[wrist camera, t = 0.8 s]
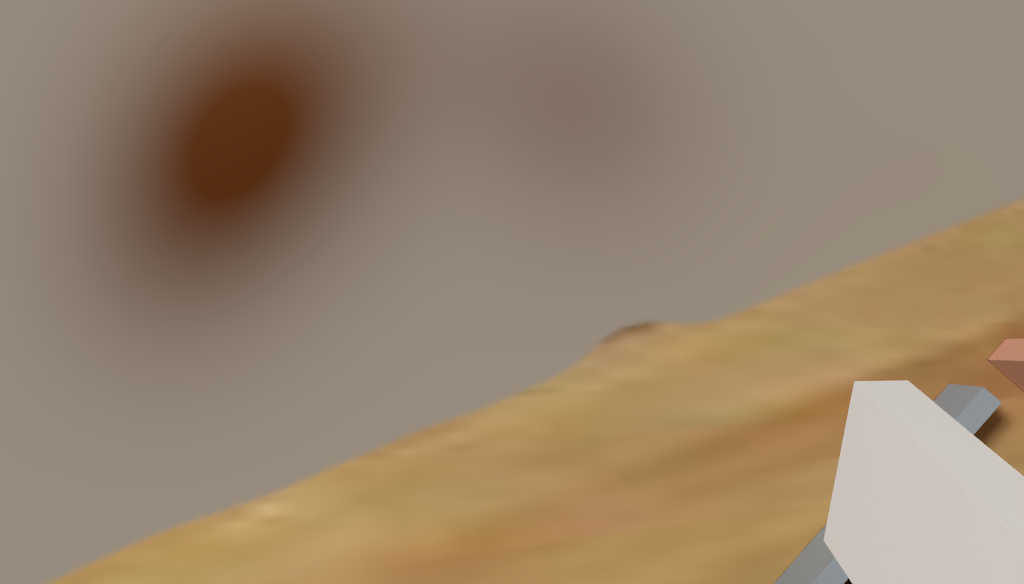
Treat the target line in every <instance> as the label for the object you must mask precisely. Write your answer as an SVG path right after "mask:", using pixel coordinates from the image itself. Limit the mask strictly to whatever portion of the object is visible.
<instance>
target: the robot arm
mask: <svg viewBox="0 0 1024 584" xmlns="http://www.w3.org/2000/svg"><path fill="white" fill-rule="evenodd" d="M824 542H825V543H826V545H827V546H828V548H829V549H830V551H831V552H832V554H833V555H834V557H835V558H836V560H837V561H838V563H839V564H840V566H841V567H842V569H843V570H844V572H845V573H846V575H847V576H848V578H849V579H850V581H851V582H852V584H1024V477H1023V476H1022V475H1021V474H1020V473H1019V472H1017V471H1016V470H1015V469H1014V468H1013V467H1011V466H1010V465H1009V464H1008V463H1007V462H1005V461H1004V460H1003V459H1002V458H1001V457H999V456H998V455H997V454H996V453H995V452H993V451H992V450H991V449H990V448H988V447H987V446H986V445H985V444H984V443H982V442H981V441H980V440H979V439H978V438H976V437H975V436H974V435H973V434H972V433H970V432H969V431H968V430H967V429H966V428H964V427H963V426H962V425H961V424H960V423H958V422H957V421H956V420H955V419H954V418H952V417H951V416H950V415H949V414H948V413H946V412H945V411H944V410H943V409H941V408H940V407H939V406H938V405H937V404H935V403H934V402H933V401H932V400H931V399H929V398H928V397H927V396H926V395H925V394H923V393H922V392H921V391H920V390H919V389H917V388H916V387H915V386H914V385H913V384H911V383H910V382H909V381H908V380H905V381H854V386H853V391H852V396H851V401H850V406H849V411H848V417H847V422H846V427H845V432H844V437H843V442H842V448H841V453H840V458H839V463H838V468H837V473H836V479H835V484H834V489H833V494H832V499H831V504H830V509H829V515H828V520H827V525H826V530H825V535H824Z"/></svg>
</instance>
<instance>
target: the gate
mask: <svg viewBox="0 0 1024 584" xmlns="http://www.w3.org/2000/svg"><path fill="white" fill-rule="evenodd" d="M988 361H990V362H991V363H992V364H993V365H994V366H995V367H996V368H998V369H999V370H1000V371H1001V372H1002V373H1003V374H1004V375H1006V376H1007V377H1008V378H1009V379H1010V380H1011V381H1013V382H1014V383H1015V384H1016V385H1017V386H1018V387H1019V388H1021V389H1022V390H1023V391H1024V339H1005V340H1004V342H1003V343H1002V344H1001V345H1000V346H999V347H998V348H997V350H996V351H995V352H994V353H993V354H992V355H991V356H990V357H989V359H988Z"/></svg>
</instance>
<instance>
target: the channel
mask: <svg viewBox="0 0 1024 584" xmlns="http://www.w3.org/2000/svg"><path fill="white" fill-rule="evenodd" d="M934 403H935V404H937V405H938V406H939V407H940V408H941V409H943V410H944V411H945V412H946V413H948V414H949V415H950V416H951V417H952V418H954V419H955V420H956V421H957V422H958V423H960V424H961V425H962V426H963V427H964V428H966V429H967V430H968V431H969V432H970V433H972V434H973V435H974V434H975V433H976V432H977V430H978V429H979V428H980V427H981V426H982V425H983V424H984V422H985V421H986V420H987V419H988V418H989V417H990V416H991V414H992V413H993V412H994V411H995V410H996V409H997V407H998V406H999V405H1000V404H1001V402H1000V401H999V400H998V399H997V398H996V397H994V396H993V395H992V394H991V393H990V392H989V391H988V390H986V389H985V388H984V387H977V386H966V385H955V384H949V385H948V386H947V387H946V388H945V389H944V391H943V392H942V393H941V394H940V395H939V396H938V397H937V399H936V400H935V401H934ZM826 525H827V524H826ZM826 525H825V526H824V527H823V528H822V530H821V531H820V532H819V533H818V534H817V535H816V536H815V538H814V539H813V540H812V541H811V542H810V543H809V544H808V546H807V547H806V548H805V549H804V550H803V551H802V552H801V554H800V555H799V556H798V557H797V558H796V559H795V560H794V562H793V563H792V564H791V565H790V566H789V567H788V568H787V569H786V571H785V572H784V573H783V574H782V575H781V576H780V577H779V579H778V580H777V581H776V582H775V583H774V584H844V583H845V582H846V581H847V579H848V576H847V575H846V573H845V572H844V570H843V569H842V567H841V566H840V564H839V563H838V561H837V560H836V558H835V557H834V555H833V554H832V552H831V551H830V549H829V548H828V546H827V545H826V543H825V542H824V535H825V530H826Z"/></svg>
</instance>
